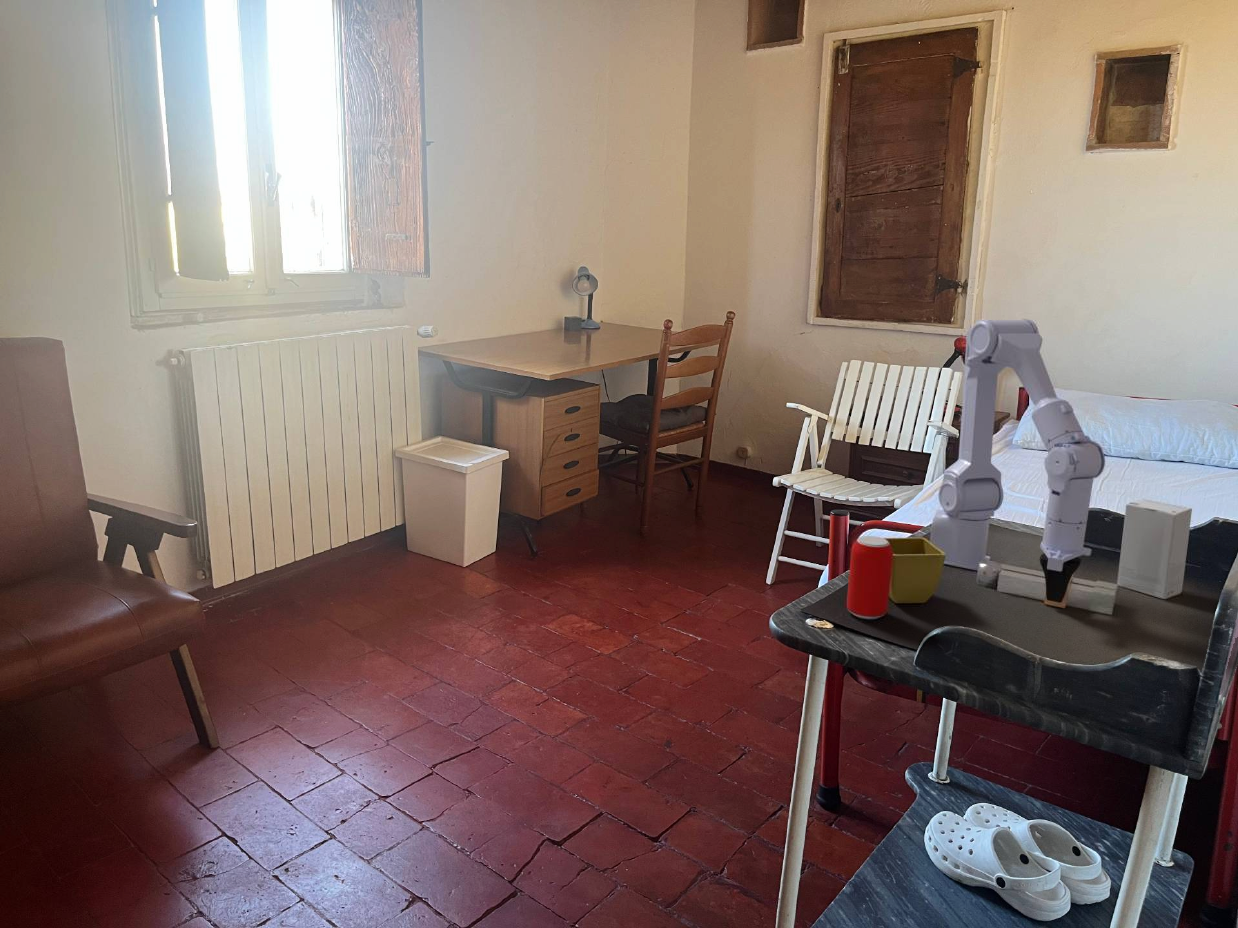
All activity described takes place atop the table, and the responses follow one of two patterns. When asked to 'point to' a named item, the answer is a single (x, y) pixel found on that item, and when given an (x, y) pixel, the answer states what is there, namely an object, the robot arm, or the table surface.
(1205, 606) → the table surface
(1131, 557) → the skincare box
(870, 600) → the beverage can
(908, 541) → the flower pot
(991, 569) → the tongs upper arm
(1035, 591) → the tongs lower arm
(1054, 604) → the block
